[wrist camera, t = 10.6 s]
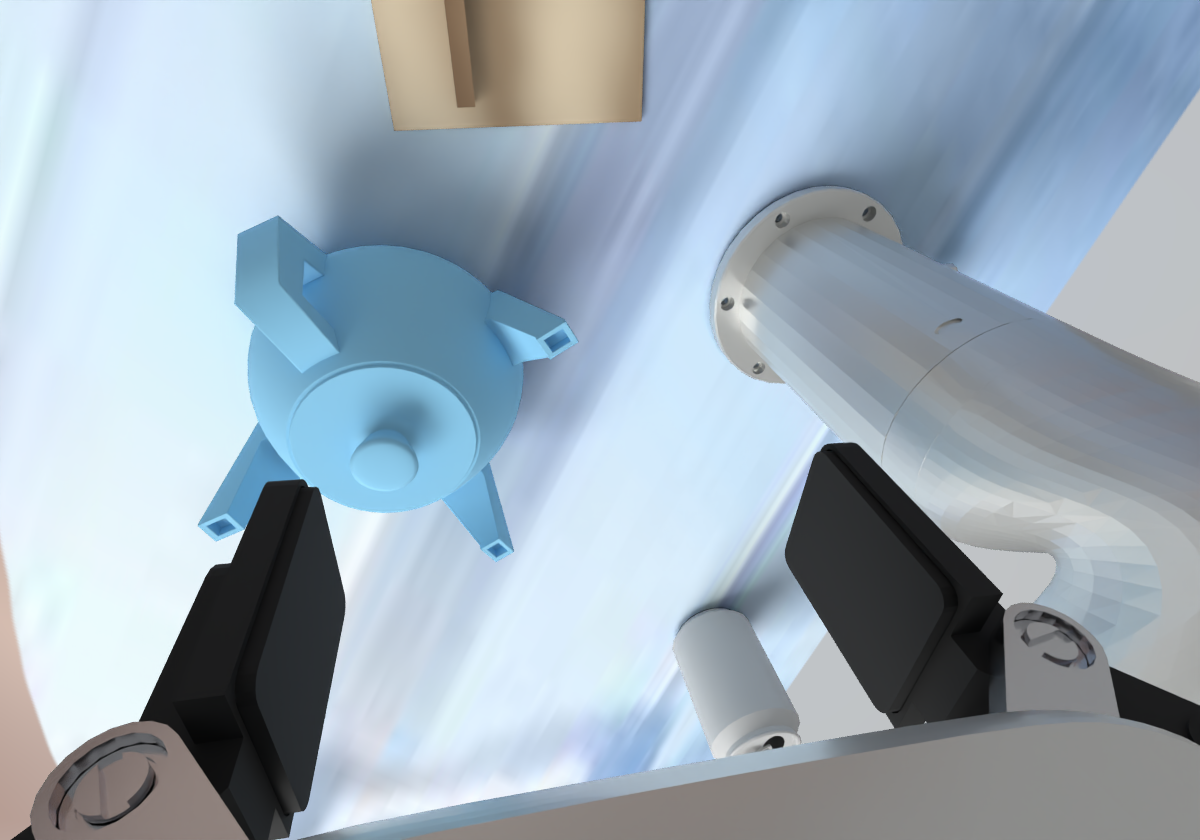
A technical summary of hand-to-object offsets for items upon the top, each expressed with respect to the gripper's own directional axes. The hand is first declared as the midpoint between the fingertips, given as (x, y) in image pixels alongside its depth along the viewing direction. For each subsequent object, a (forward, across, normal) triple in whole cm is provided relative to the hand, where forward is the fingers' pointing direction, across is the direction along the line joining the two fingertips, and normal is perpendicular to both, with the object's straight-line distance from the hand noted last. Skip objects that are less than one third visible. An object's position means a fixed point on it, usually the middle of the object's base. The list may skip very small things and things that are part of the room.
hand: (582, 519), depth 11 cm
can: (+25, -18, +38) cm, 49 cm away
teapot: (+24, +6, +8) cm, 27 cm away
